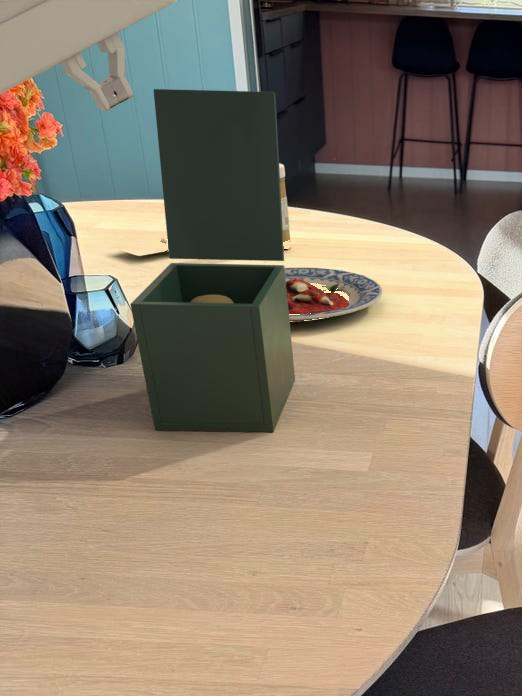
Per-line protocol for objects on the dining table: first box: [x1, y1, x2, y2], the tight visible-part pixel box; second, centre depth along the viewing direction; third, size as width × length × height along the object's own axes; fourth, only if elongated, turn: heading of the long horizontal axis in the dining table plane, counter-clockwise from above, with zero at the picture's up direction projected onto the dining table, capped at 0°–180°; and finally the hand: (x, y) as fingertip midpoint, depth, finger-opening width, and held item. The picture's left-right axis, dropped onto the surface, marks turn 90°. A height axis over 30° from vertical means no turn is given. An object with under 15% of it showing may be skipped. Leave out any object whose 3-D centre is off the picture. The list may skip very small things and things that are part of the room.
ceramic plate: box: [284, 267, 383, 321], centre depth 137 cm, size 26×26×3 cm
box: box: [129, 262, 296, 433], centre depth 103 cm, size 16×13×13 cm
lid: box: [153, 88, 285, 262], centre depth 102 cm, size 17×13×1 cm
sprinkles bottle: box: [279, 162, 291, 242], centre depth 161 cm, size 5×5×13 cm
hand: (117, 103), depth 80 cm, fingers closed
